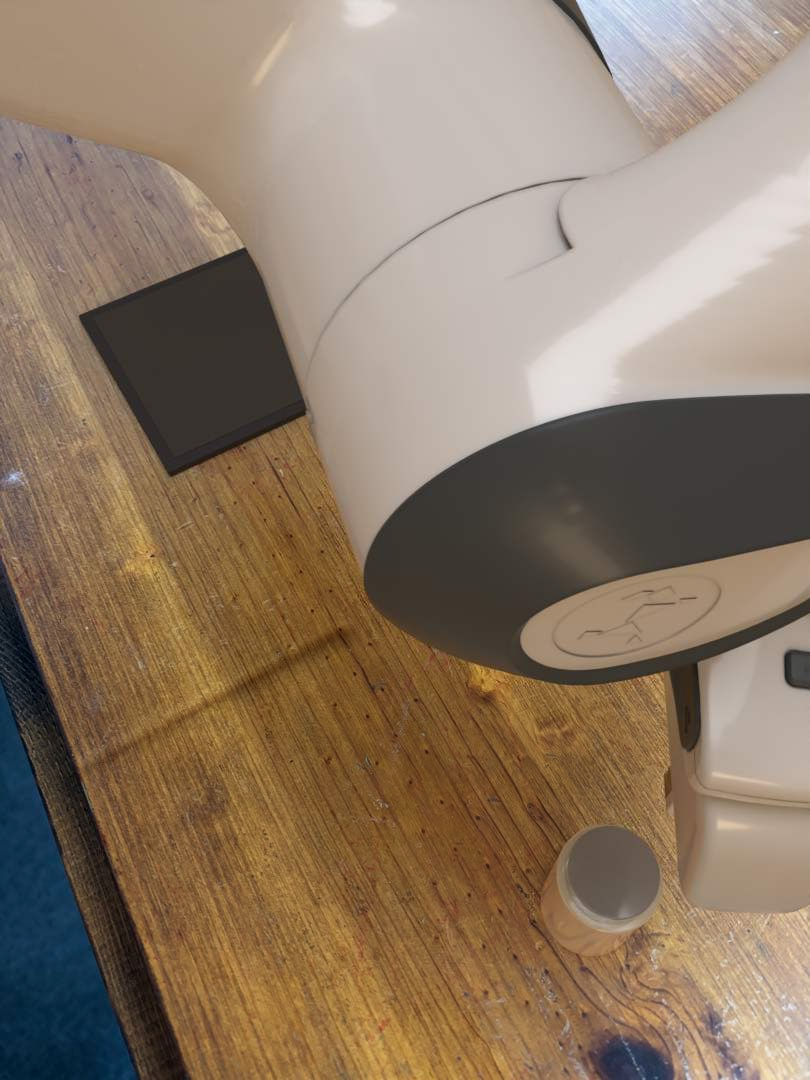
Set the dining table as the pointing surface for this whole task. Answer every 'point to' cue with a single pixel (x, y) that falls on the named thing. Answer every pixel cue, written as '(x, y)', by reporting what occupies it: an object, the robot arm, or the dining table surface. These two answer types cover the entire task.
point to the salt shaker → (601, 889)
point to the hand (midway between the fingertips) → (676, 682)
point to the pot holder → (199, 360)
